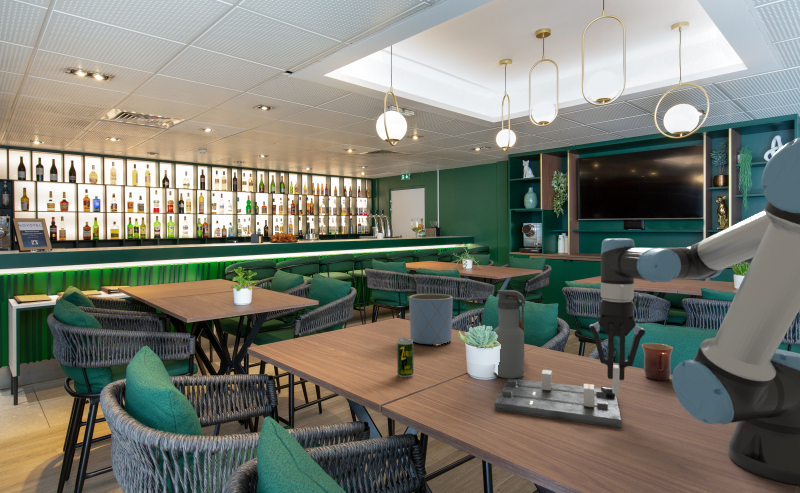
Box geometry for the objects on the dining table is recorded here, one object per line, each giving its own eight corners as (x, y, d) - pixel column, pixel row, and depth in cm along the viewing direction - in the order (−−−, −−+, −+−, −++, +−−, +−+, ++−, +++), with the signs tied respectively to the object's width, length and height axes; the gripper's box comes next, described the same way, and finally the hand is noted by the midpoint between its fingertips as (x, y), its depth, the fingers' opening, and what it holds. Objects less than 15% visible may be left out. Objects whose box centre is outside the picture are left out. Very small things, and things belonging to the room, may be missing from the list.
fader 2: (594, 407, 113) (594, 389, 113) (583, 405, 114) (583, 387, 114) (593, 401, 116) (593, 384, 116) (583, 400, 117) (583, 383, 117)
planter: (460, 340, 198) (459, 295, 197) (440, 349, 181) (440, 300, 181) (422, 335, 208) (422, 292, 207) (401, 343, 192) (400, 297, 191)
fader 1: (551, 390, 125) (551, 374, 125) (541, 389, 126) (541, 373, 126) (551, 385, 129) (551, 370, 129) (542, 384, 130) (542, 369, 130)
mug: (637, 373, 148) (638, 342, 148) (666, 374, 146) (666, 343, 146) (650, 384, 136) (650, 351, 136) (682, 386, 134) (682, 352, 134)
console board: (621, 427, 106) (621, 411, 106) (494, 410, 117) (494, 395, 117) (614, 396, 126) (614, 383, 126) (507, 384, 138) (507, 372, 138)
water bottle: (525, 371, 151) (525, 289, 150) (525, 380, 141) (525, 292, 141) (494, 369, 153) (494, 288, 153) (492, 378, 144) (492, 292, 143)
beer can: (395, 373, 149) (395, 338, 149) (410, 372, 151) (410, 337, 151) (400, 378, 144) (399, 342, 144) (415, 377, 146) (415, 340, 145)
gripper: (644, 298, 113) (642, 390, 114) (588, 296, 118) (587, 383, 119) (648, 303, 106) (646, 400, 107) (589, 300, 111) (587, 393, 112)
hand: (615, 391), depth 113 cm, fingers closed
